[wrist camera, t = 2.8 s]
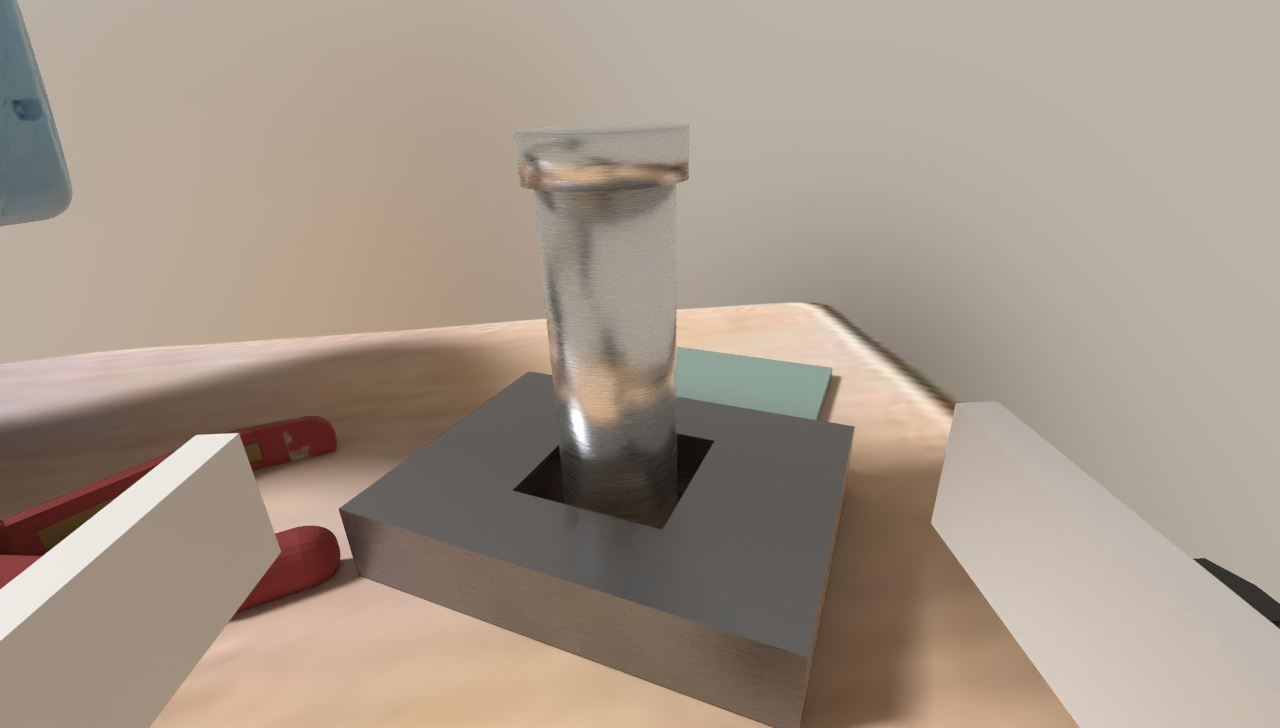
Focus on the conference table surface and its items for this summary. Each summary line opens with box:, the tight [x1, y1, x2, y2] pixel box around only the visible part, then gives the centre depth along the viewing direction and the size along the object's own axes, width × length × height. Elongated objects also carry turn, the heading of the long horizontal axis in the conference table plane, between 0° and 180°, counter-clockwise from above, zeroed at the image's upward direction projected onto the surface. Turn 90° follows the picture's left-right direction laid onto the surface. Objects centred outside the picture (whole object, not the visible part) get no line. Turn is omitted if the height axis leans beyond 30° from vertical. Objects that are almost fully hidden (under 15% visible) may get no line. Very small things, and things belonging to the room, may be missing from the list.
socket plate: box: [339, 372, 854, 728], centre depth 23 cm, size 16×12×3 cm
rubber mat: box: [676, 347, 832, 420], centre depth 34 cm, size 12×10×1 cm
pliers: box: [0, 416, 340, 613], centre depth 22 cm, size 12×20×3 cm, turn 116°
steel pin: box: [514, 123, 689, 530], centre depth 21 cm, size 5×5×15 cm
